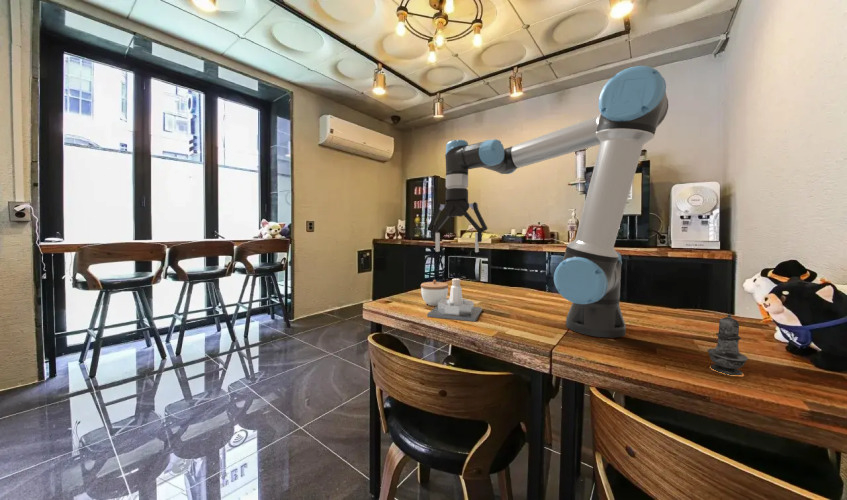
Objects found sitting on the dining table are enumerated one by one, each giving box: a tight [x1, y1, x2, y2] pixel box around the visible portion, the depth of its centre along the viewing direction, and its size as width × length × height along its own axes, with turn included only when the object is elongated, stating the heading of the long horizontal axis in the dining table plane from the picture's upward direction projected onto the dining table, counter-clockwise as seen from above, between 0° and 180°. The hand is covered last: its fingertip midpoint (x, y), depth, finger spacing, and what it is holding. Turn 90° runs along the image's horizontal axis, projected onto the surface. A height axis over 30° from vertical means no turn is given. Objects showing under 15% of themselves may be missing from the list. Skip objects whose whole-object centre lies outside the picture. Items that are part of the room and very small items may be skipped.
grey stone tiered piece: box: [706, 313, 749, 376], centre depth 62 cm, size 6×6×12 cm
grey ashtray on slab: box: [427, 297, 483, 322], centre depth 105 cm, size 16×14×5 cm
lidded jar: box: [420, 279, 449, 307], centre depth 119 cm, size 11×11×9 cm
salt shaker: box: [448, 278, 463, 305], centre depth 104 cm, size 5×5×11 cm
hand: (456, 251), depth 103 cm, fingers open, 13 cm apart
